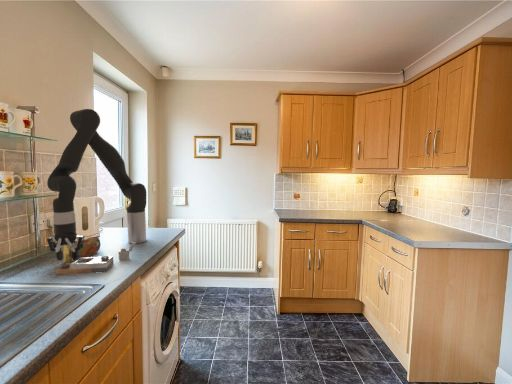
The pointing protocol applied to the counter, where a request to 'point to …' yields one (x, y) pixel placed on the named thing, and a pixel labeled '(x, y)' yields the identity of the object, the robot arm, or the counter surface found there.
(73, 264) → the door latch
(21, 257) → the counter surface
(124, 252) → the lighter
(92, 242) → the tin
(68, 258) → the pin
